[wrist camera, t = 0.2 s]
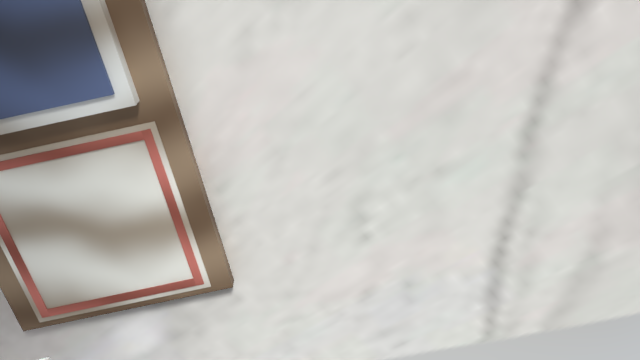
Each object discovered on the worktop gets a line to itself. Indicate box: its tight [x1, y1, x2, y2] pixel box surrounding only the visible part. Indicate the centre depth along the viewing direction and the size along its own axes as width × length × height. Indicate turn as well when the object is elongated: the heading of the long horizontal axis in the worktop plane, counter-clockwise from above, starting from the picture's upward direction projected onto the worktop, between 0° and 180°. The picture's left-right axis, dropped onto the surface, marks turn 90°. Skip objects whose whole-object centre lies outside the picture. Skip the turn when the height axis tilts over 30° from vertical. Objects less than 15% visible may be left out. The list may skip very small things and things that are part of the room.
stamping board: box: [0, 0, 234, 331], centre depth 37 cm, size 28×16×2 cm, turn 12°
